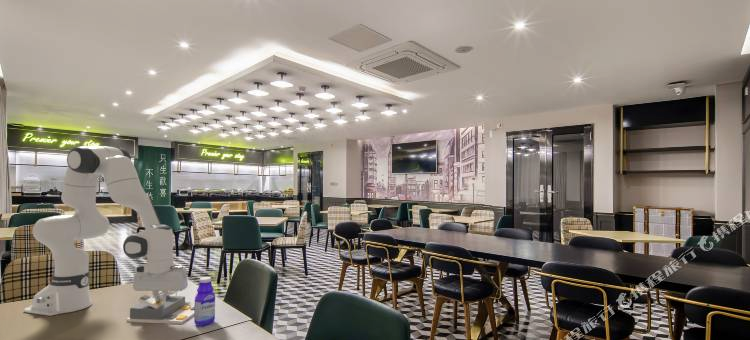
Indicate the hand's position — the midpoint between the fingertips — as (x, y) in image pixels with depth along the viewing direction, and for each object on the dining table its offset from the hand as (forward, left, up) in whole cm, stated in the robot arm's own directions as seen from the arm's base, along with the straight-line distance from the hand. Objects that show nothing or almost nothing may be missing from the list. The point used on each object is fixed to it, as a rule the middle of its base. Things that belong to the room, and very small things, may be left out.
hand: (160, 301), depth 141 cm
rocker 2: (-4, +10, -1) cm, 11 cm away
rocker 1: (-4, 0, -1) cm, 4 cm away
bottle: (+19, -1, -7) cm, 20 cm away
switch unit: (0, +5, -7) cm, 9 cm away
